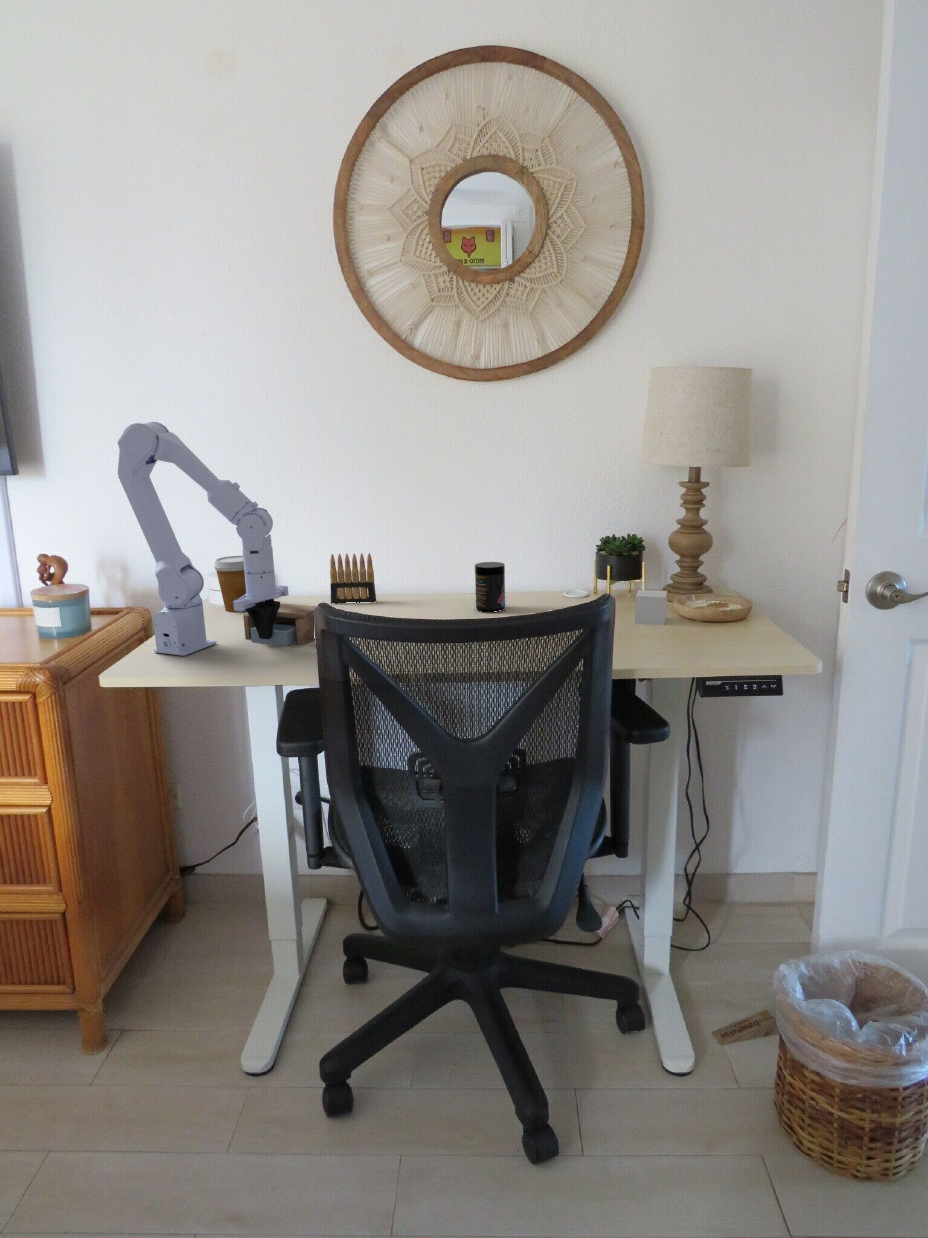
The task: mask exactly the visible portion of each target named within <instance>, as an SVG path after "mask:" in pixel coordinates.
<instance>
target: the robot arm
mask: <svg viewBox="0 0 928 1238" xmlns="http://www.w3.org/2000/svg"><path fill="white" fill-rule="evenodd" d="M117 446H118V449H119V451H118V452H119V454H118V465H117V476H118V479H119V481H120V484H121V485H122V488H123V491H124V493H125V495H126V497H127V499H128V502H129V504H130V506H131V508H132V509H131V510H133V513H134V516H135V518H136V520H137V522H138V525H139V527H140V529H141V531H142V533H143V536H144V538H145V540H146V542H147V544H148V545H147V546H149V549H150V552H151V554H152V556H153V558H154V561H155V571H154V572H155V573H154V575H155V577H156V578H155V579H156V580H157V583H158V585H157V587H158V588H157V593H158V596H159V598H160V599H161V601H162V602H163V606H164V607H163V608H162V609H161V610H160V611H158V612H157V613H156V614H155V615H154V617H153V629H154V637H155V644H156V646H155V647H156V648H154V649H153V652H154V653H159V654H165V655H166V654H167V655H175V656H182V657H183V656H184V657H185V656H188V655H190V654H193V653H196V652H198V651H200V650H203V649H206V648H208V647H211V646H213V645H216V644H217V641H216V640H211V639H207V633H206V624H205V623H206V622H205V614H204V613H205V612H204V605H203V599H202V597H201V596H200V595H201V592H202V591H203V589H204V585H205V582H204V581H205V580H204V576H203V575H202V573H201V572H200V571H199V570H198V569H197V568H196V567H195V566H194V565H193V563H192V561H191V559H190V557H189V556H187V555H186V554H185V553H184V552H183V551H182V548H181V546H180V544H179V542H178V539H177V538H176V534H175V532H174V530H173V528H172V525H171V522H170V520H169V519H168V516H167V513H166V511H165V509H164V507H163V505H162V502H161V500H160V497H159V495H158V493H157V491H156V488H155V486H154V484H153V482H152V479H151V477H150V476H151V473H152V471H153V470H154V467H155V465H156V464H157V462H158V461H159V462H160V461H161V462H166V463H169V464H170V463H171V464H174V466H176V467H177V468H178V469H180V470H181V471H182V472H183V473H184V474H186V475H187V476H188V477H189V478H190V479H191V480H193V481H194V482H195V483H196V484H197V485H199V486H200V487H201V488H202V489H204V491H206V494H207V495H206V496H207V501H208V503H209V504H211V507H213V508H214V509H216V510H217V511H218V513H220V514H221V515H222V516H223V517H224V518H226V520H228V522H229V523H230V524H232V525H235V526H236V527H235V529H236V534H237V535H238V537H239V538H240V539H241V544H242V549H241V551H242V556H243V562H244V572H245V583H246V594H245V595H243V596H242V597H240V598H239V599H237V600H235V601H233V604H234V611H241V612H246V614H249V616H250V617H251V619H252V621H253V623H254V625H255V627H256V630H257V632H258V635H259V638H260V639H270V638H271V637H272V632H273V626H274V621H275V617H276V615H277V612H278V610H279V608H280V603H281V602H280V601H278V600H276V599H279V598H281V597H287V596H289V586H288V585H277V584H276V575H275V564H274V563H275V561H274V553H273V552H274V551H273V550H274V549H273V546H272V537H271V534H270V533H271V532H272V529H273V526H274V523H273V522H274V520H273V518H272V516H271V514H270V513H269V511H268V510H267V509H265V508H264V507H259V503H257V502H256V501H252V500H251V499H250V498H248V497H247V495H246V494H244V493H243V491H241V490H240V488H241V485H240V484H239V483H237V482H232V481H230V480H229V479H219V478H218V476H216V474H214V473H213V472H212V470H211V469H209V468H208V467H207V465H206V464H204V462H202V461H201V459H200V458H199V457H198V456H197V455H196V454H195V453H194V452H193V451H192V450H191V449H190V448H189V447H188V446H187V445H186V444H185V443H184V442H183V441H182V440H181V439H180V438H179V436H178V435H176V434H175V433H174V432H172V431H170V430H169V429H168V428H167V426H166V425H164V424H163V423H160V422H157V421H150V422H147V423H146V422H145V423H143V422H142V423H140V422H136V423H131V424H129V425H128V426H127V427H125V429H124V430H123V432H122V434H121V436H120V437H119V439H118V441H117ZM276 585H277V586H276ZM245 610H246V611H245Z"/></svg>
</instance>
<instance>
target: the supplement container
mask: <svg viewBox="0 0 928 1238" xmlns="http://www.w3.org/2000/svg"><path fill="white" fill-rule="evenodd" d="M505 566H506V565H505V563H503V562H501V561H500V562H499V561H483V562H477V563H476V564H474V579H475V580H474V581H475V583H474V584H475V585H474V587H475V608H476V610H477V611H478V612H480V611H481V612H480V613H484V612H494V611H499V610H503V609H504V610H506V609H505V608H506V576H505V574H506V573H505V572H506V570H505V568H506V567H505ZM504 610H503V611H504Z"/></svg>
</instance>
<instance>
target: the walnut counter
mask: <svg viewBox="0 0 928 1238" xmlns="http://www.w3.org/2000/svg"><path fill="white" fill-rule="evenodd" d="M315 607H316V605H307V604H306V605H304V604H295V603H294V604H293V603H284V602H283V603H282V602H280V608H279V610H278V612H277V615H276V617H275V621H274V624H284V625H293V626H296V632H297V642H296V643H297V646H303V645H306V644H307V642H308V643H310V642H313V641H314V609H315ZM242 618H243V625H244V636H245V639H246V640H251V630H250V629H251V628H253V627H255V625H254V623H253V621H252V619H251V617H250V616H249V614H248V613H246V614H243V616H242Z"/></svg>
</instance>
